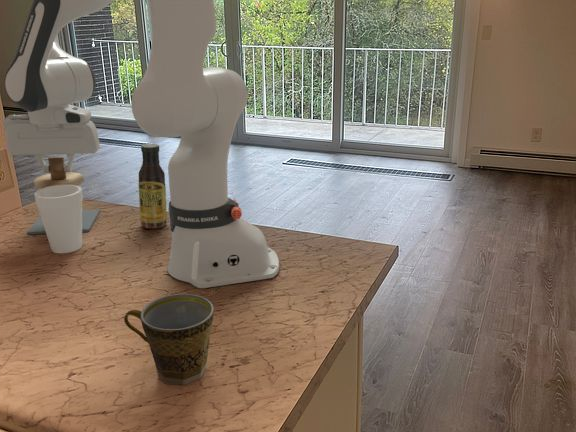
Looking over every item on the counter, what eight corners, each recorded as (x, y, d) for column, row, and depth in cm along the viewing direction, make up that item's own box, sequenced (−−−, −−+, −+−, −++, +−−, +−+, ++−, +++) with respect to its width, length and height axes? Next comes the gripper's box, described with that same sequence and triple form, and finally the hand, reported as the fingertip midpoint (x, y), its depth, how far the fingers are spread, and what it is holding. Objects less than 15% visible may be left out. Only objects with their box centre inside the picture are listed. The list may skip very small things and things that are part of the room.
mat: (100, 211, 144) (100, 209, 144) (89, 231, 131) (89, 229, 131) (44, 213, 142) (43, 211, 142) (27, 234, 129) (26, 231, 129)
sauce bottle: (138, 230, 132) (130, 148, 125) (144, 220, 137) (136, 142, 130) (166, 230, 132) (159, 148, 125) (170, 220, 137) (164, 142, 130)
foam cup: (79, 256, 118) (71, 198, 113) (36, 256, 118) (26, 198, 113) (95, 239, 127) (87, 184, 122) (54, 238, 127) (45, 184, 122)
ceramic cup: (224, 354, 84) (222, 296, 81) (204, 397, 75) (200, 333, 72) (143, 346, 86) (137, 289, 83) (114, 387, 77) (106, 324, 74)
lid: (87, 175, 139) (85, 151, 137) (77, 188, 129) (74, 163, 126) (42, 176, 138) (38, 152, 135) (28, 190, 127) (24, 164, 125)
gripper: (-4, 117, 123) (7, 177, 128) (91, 115, 126) (99, 174, 130) (6, 112, 129) (16, 169, 134) (97, 110, 131) (103, 167, 136)
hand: (57, 172), depth 132 cm, fingers closed on lid, 3 cm apart
